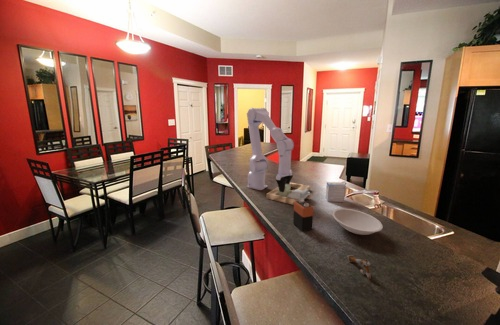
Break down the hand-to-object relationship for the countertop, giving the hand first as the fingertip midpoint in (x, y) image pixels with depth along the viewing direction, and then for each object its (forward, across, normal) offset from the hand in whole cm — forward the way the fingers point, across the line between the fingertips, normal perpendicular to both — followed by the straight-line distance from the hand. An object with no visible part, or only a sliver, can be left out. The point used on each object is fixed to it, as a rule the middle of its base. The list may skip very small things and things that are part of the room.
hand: (283, 190), depth 111 cm
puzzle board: (+4, +6, -3) cm, 7 cm away
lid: (+1, 0, -8) cm, 8 cm away
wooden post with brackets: (+4, -36, -40) cm, 54 cm away
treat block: (+3, 0, 0) cm, 3 cm away
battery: (+4, -23, -18) cm, 30 cm away
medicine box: (+4, +10, -22) cm, 25 cm away
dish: (+4, -16, -36) cm, 39 cm away
